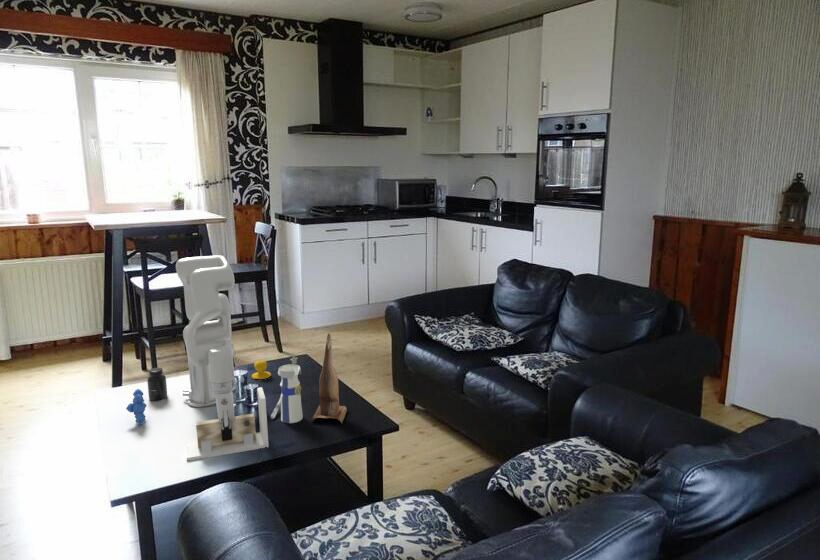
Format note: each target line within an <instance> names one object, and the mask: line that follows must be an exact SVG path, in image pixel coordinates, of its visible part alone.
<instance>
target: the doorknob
mask: <svg viewBox="0 0 820 560" xmlns="http://www.w3.org/2000/svg"><path fill="white" fill-rule="evenodd" d="M253 368H254V369H255V370H256V371H257V372H254V373H252V374H251V379H252V378H253V379H252V380H254V379H265V378H268V377H270V376H271V377H272V373H271V372H269V371H266V369H267V368H268V363H267V361H265V360H264V359H260V360H257V361H255V362H254V364H253ZM271 377H270V378H271ZM268 379H269V378H268ZM265 380H266V379H265Z"/></svg>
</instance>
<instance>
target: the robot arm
mask: <svg viewBox="0 0 820 560" xmlns="http://www.w3.org/2000/svg"><path fill="white" fill-rule="evenodd" d="M175 270H176V273H177V276H178V278H179V280H180V282H181V284H182V286H183V294H184V306H185V307H184V308H185V313H186V318H187V319H188V320H189V321H190V322H189V324H187V325H186V326H185V327H184V329H183V331H182V337H183V341H184V343H185V348H186V353H187V361H188V362H187V364H188V372H189V373H188V374H189V383H190V384H189V385H190V389H189V388H184V389H183V391H182V396H183V397H188V399H187V404H188V405H189V406H190V407H194V408H202V407H203V408H205V407H210V406H214V405H216V411H217V419H219V422H220V423H222V429H221V433H222V441H227V440H232V427H231V423H230V420H231V421H232V420H233V421H234V420H235V414H236V413H235V405H234V402H235V401H234V393H233V391H234V390H236V378H235V368H234V355H235V347H234V343H233V342H232V341H231V339H232V319H231V317H232V316H231V315H232V314H231V304H230V300H229V298H228V296H227V295H226V294H225V293H220V292H221V291H222V292H223V291H231V290H232V289H233V288H234V287H235V282H236V281H235V275H234V271H233V269H232V267H231V265H230V263H229V262H228V259H227V258H226V257H225V256H224V255H221V254H217V255H204V256H203V255H202V256H201V255H200V256H191V257H184V258H180V259H178V260H177V261H176V264H175ZM228 418H229V419H228ZM222 419H224V420H222ZM228 422H229V423H228ZM223 423H224V424H223Z"/></svg>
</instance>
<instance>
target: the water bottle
mask: <svg viewBox="0 0 820 560" xmlns="http://www.w3.org/2000/svg"><path fill="white" fill-rule="evenodd" d="M298 358H299V357H295V355H293V356H292V358H290V359H289V361H291V364H290V363H288V364H284V365H281V366H279V368H278V371H277V374H278V376H280V379H281V381H280V383H279V386H280V388H281V389H280V390H281V394H280V397H281V406H280V420H281V422H282V423H284V424H294V423H298V422H301V420H303V407H302V396H301V391H302V386H301V385H300V384H301V383H300V380H299V378H298V375H299V374H300V376H301V374H302V370H301V366H300V365H298V364H297V363H298V362H297V361H298Z"/></svg>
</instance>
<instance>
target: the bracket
mask: <svg viewBox="0 0 820 560" xmlns="http://www.w3.org/2000/svg"><path fill="white" fill-rule="evenodd" d="M280 409H281V396H280V397H279V399H278V401H277V403H276V405H275V408H274V409H273V411H272V412H271V415H270V419H271V420H274V419H275V418H276V416H277V413H278V412H279V410H280Z"/></svg>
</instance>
